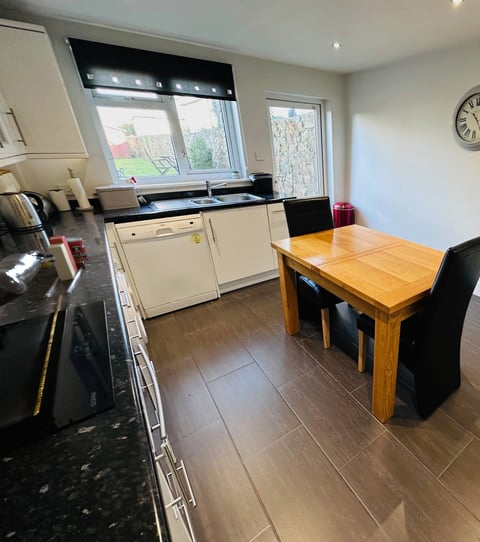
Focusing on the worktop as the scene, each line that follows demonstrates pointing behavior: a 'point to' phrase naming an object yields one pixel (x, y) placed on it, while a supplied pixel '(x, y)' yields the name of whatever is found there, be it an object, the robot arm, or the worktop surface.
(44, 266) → the lemon
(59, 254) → the block
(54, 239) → the marker red
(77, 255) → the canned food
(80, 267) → the score rail
